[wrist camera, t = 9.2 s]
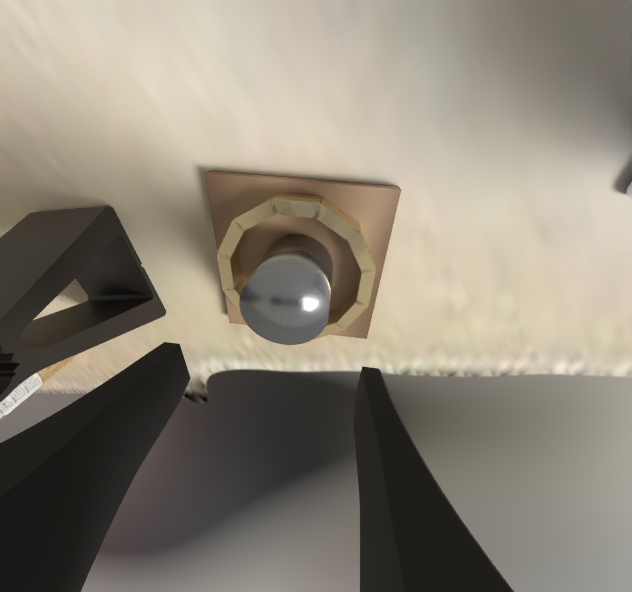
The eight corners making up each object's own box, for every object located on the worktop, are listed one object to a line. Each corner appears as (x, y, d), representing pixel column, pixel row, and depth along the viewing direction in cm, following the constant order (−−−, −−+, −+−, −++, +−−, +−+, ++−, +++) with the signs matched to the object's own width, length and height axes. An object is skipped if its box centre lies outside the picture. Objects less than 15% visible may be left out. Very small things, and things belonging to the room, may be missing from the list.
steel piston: (338, 239, 16) (334, 279, 12) (328, 299, 18) (323, 350, 14) (265, 229, 16) (236, 265, 12) (265, 290, 19) (241, 338, 14)
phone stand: (167, 313, 22) (16, 468, 12) (105, 313, 23) (-84, 460, 13) (112, 204, 17) (-221, 314, 7) (36, 210, 18) (-359, 317, 8)
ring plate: (398, 186, 15) (406, 196, 13) (365, 331, 21) (368, 353, 19) (211, 170, 15) (190, 177, 13) (233, 316, 21) (221, 336, 19)
